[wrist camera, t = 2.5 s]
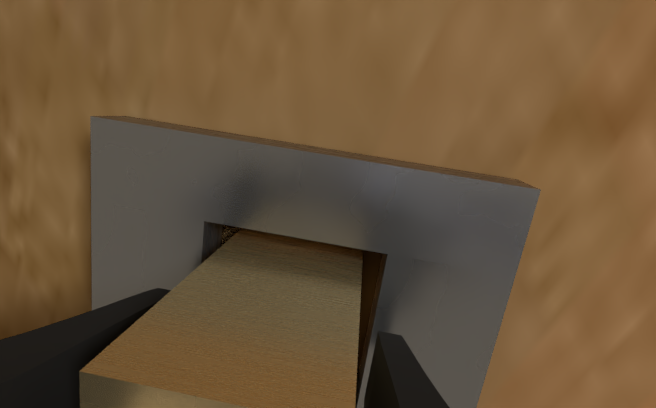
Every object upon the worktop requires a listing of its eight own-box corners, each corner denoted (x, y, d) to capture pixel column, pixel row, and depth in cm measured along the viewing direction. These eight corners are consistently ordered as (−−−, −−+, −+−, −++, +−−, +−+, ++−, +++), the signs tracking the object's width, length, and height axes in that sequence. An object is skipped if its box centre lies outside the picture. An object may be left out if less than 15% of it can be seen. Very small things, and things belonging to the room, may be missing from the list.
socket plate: (441, 455, 13) (449, 496, 12) (121, 385, 14) (92, 417, 13) (517, 179, 11) (540, 190, 9) (125, 116, 12) (90, 116, 10)
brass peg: (343, 358, 13) (313, 630, 6) (230, 336, 13) (82, 571, 6) (362, 250, 12) (354, 429, 5) (241, 228, 12) (79, 370, 5)
